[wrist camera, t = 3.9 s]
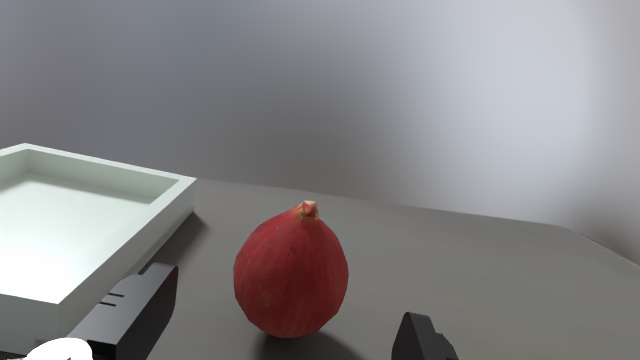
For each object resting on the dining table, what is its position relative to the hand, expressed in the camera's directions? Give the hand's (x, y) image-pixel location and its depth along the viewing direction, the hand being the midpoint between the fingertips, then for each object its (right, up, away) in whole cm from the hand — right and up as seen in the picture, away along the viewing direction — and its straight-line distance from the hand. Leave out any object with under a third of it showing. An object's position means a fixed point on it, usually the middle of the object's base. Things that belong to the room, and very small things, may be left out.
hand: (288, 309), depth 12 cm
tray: (-17, +1, +10) cm, 20 cm away
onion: (-1, -4, +7) cm, 8 cm away
